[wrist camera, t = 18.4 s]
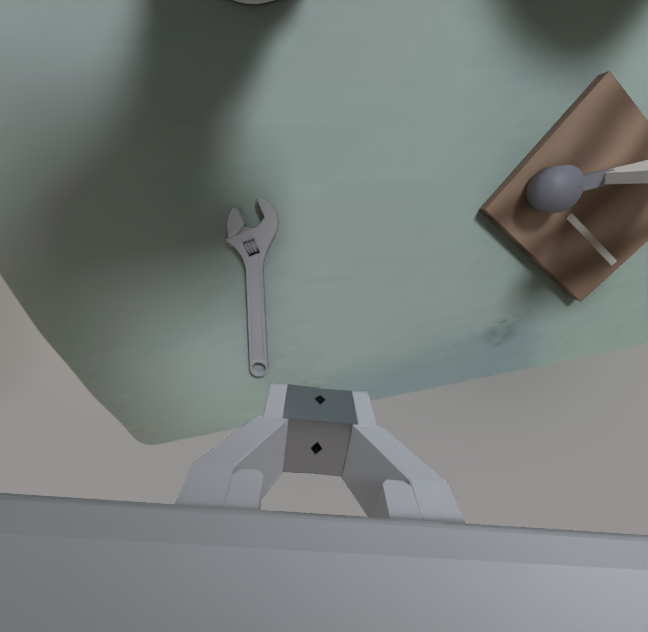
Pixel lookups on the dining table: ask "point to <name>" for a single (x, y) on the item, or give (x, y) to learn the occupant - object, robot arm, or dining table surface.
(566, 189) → the white upright panel
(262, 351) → the adjustable wrench
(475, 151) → the dining table surface
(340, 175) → the dining table surface
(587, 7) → the dining table surface
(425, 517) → the robot arm
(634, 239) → the dial board
